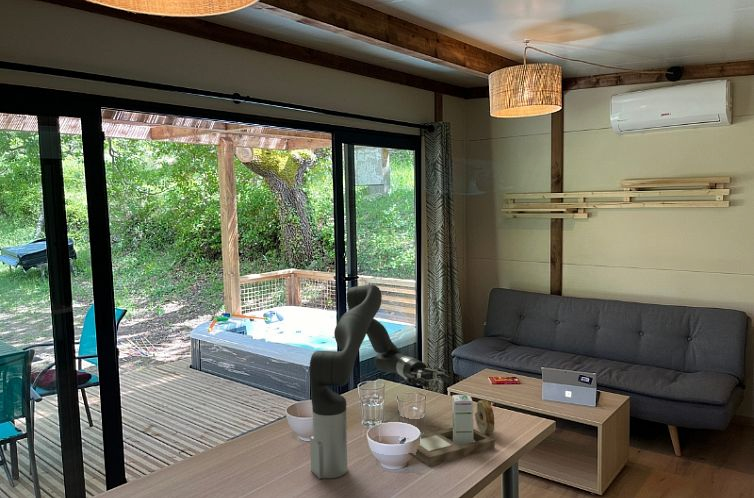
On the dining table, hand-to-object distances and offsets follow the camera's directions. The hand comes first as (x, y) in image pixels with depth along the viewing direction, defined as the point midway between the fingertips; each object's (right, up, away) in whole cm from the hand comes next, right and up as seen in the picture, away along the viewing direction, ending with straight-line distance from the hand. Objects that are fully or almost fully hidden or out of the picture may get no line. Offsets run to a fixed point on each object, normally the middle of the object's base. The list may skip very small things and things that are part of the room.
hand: (438, 382), depth 182 cm
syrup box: (+6, -17, -10) cm, 20 cm away
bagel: (+15, -16, -1) cm, 22 cm away
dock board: (+1, -17, -13) cm, 21 cm away
